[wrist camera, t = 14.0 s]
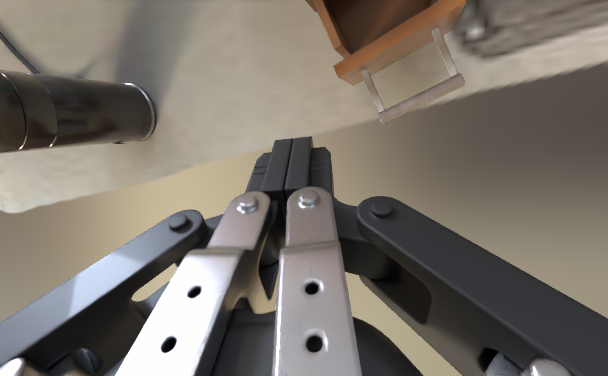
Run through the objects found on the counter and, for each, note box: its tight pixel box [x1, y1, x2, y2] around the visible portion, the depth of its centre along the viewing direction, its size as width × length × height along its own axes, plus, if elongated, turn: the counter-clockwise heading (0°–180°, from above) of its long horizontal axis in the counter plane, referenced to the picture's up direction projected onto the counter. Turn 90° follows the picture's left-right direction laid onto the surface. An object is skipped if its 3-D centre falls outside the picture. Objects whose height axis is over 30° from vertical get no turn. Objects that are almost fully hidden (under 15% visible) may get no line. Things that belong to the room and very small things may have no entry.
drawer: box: [313, 0, 467, 124], centre depth 27 cm, size 19×11×8 cm, turn 27°
